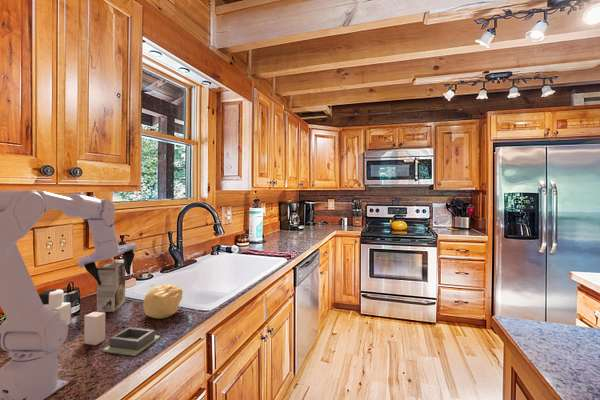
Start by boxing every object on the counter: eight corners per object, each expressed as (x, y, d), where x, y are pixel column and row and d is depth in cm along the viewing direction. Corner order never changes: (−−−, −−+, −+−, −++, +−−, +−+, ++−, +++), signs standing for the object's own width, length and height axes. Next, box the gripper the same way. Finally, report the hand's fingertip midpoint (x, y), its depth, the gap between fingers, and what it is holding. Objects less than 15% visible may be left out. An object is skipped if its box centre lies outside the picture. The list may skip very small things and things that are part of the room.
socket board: (135, 355, 77) (135, 344, 77) (102, 351, 79) (103, 340, 79) (160, 337, 87) (160, 327, 87) (130, 334, 89) (130, 324, 89)
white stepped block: (29, 333, 88) (29, 294, 88) (48, 323, 95) (49, 287, 95) (53, 334, 88) (53, 294, 88) (71, 323, 95) (71, 287, 95)
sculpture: (165, 324, 96) (165, 291, 96) (135, 319, 99) (136, 288, 99) (187, 311, 107) (187, 282, 107) (160, 307, 110) (160, 279, 110)
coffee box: (107, 303, 113) (108, 262, 113) (125, 302, 114) (126, 261, 114) (95, 312, 104) (96, 268, 104) (115, 311, 106) (115, 267, 105)
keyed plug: (96, 345, 82) (96, 317, 82) (82, 343, 83) (82, 315, 83) (105, 339, 85) (105, 312, 85) (91, 338, 86) (92, 311, 86)
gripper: (128, 226, 91) (135, 264, 96) (71, 241, 81) (82, 282, 86) (135, 234, 86) (143, 273, 91) (75, 251, 77) (87, 293, 81)
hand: (114, 278), depth 88 cm, fingers open, 7 cm apart
